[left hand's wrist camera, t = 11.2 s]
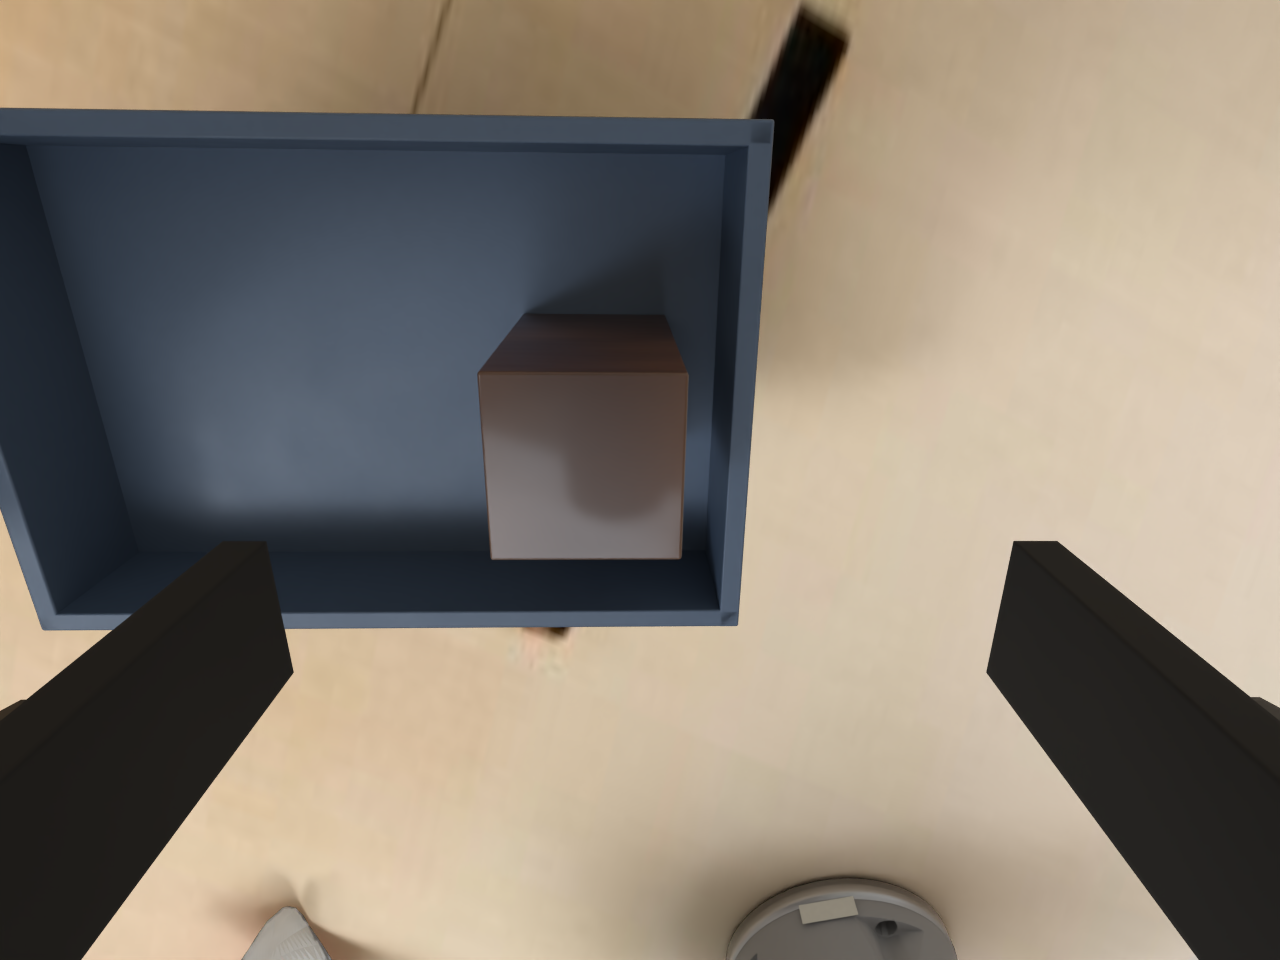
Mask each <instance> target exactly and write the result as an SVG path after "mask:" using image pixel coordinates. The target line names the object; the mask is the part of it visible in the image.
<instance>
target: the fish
mask: <svg viewBox="0 0 1280 960" xmlns="http://www.w3.org/2000/svg"><path fill="white" fill-rule="evenodd" d="M242 960H332V959H331V958H330V956H329V954H328V953H327V951H326V950H325V948H324V946H323V945H322V943H321V942H320V940H319V939H318V938H317V936H316V935H315V933H314V932H313V930H312V929H311V927H310V926H309V924H308V923H307V921H306V919H305V918H304V916H303V915H302V914H301V913H300V912H299V911H298V910H297V909H296V908H294V907H290V906H289V907H283V908H282V909H281V910H280V911H278V912H277V913H276V914H275V915H274V916H273V917H271V918H270V919H269V920H268V921H267V922H266V924H265V925H264V926H263V928H262V929H261V931H260V932H259V933H258V935H257V937H256V938H255V940H254V941H253V943H252V945H251V946H250V948H249V949H248V951H247V952H246V954H245V955H244V957H243V958H242Z"/></svg>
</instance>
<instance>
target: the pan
mask: <svg viewBox="0 0 1280 960" xmlns="http://www.w3.org/2000/svg"><path fill="white" fill-rule="evenodd" d="M773 132H774V120H772V119H704V118H639V117H573V116H508V115H443V114H377V113H312V112H247V111H182V110H116V109H51V108H0V509H1V512H2V515H3V518H4V521H5V524H6V526H7V529H8V532H9V535H10V538H11V541H12V544H13V547H14V549H15V552H16V555H17V558H18V561H19V564H20V567H21V569H22V572H23V575H24V578H25V581H26V584H27V587H28V589H29V592H30V595H31V598H32V601H33V604H34V607H35V609H36V612H37V615H38V619H39V621H40V624H41V627H42V629H43V630H113V629H115V628H116V627H117V626H118V625H120V624H121V623H122V622H123V621H125V620H126V619H127V618H128V617H129V616H131V615H132V614H133V613H134V612H136V611H137V610H138V609H139V608H141V607H142V606H143V605H144V604H146V603H147V602H148V601H149V600H151V599H152V598H153V597H154V596H155V595H157V594H158V593H159V592H160V591H162V590H163V589H164V588H165V587H167V586H168V585H169V584H170V583H172V582H173V581H174V580H175V579H177V578H178V577H179V576H180V575H181V574H183V573H184V572H185V571H186V570H188V569H189V568H190V567H191V566H193V565H194V564H195V563H196V562H198V561H199V560H200V559H201V558H203V557H204V556H205V555H206V554H207V553H209V552H210V551H211V550H212V549H214V548H215V547H216V546H217V545H219V544H220V543H221V542H222V541H266V542H267V547H268V551H269V556H270V561H271V566H272V571H273V575H274V580H275V585H276V590H277V595H278V600H279V604H280V609H281V614H282V619H283V624H284V628H285V629H325V628H476V627H627V626H737V625H738V617H739V603H740V589H741V575H742V561H743V547H744V534H745V520H746V506H747V492H748V478H749V464H750V451H751V437H752V423H753V409H754V395H755V381H756V368H757V354H758V340H759V326H760V312H761V298H762V285H763V271H764V257H765V243H766V229H767V215H768V202H769V188H770V174H771V160H772V146H773ZM523 314H631V315H665V316H666V319H667V321H668V324H669V327H670V329H671V332H672V334H673V337H674V339H675V342H676V344H677V347H678V350H679V352H680V355H681V357H682V360H683V362H684V365H685V368H686V370H687V373H688V375H689V378H688V404H687V430H686V456H685V482H684V508H683V534H682V557H681V559H599V560H492V559H491V557H490V544H489V530H488V517H487V503H486V489H485V475H484V461H483V448H482V434H481V420H480V406H479V392H478V379H477V373H478V371H479V370H480V369H481V368H482V366H483V365H484V364H485V362H486V361H487V360H488V359H489V357H490V356H491V355H492V354H493V352H494V351H495V350H496V348H497V347H498V346H499V345H500V343H501V342H502V341H503V339H504V338H505V337H506V336H507V334H508V333H509V332H510V331H511V329H512V328H513V327H514V325H515V324H516V323H517V322H518V320H519V319H520V318H521V317H522V315H523Z"/></svg>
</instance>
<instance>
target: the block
mask: <svg viewBox="0 0 1280 960" xmlns="http://www.w3.org/2000/svg"><path fill="white" fill-rule="evenodd" d="M688 378H689V375H688V373H687V370H686V368H685V365H684V362H683V360H682V357H681V355H680V352H679V350H678V347H677V344H676V342H675V339H674V337H673V334H672V332H671V329H670V327H669V324H668V321H667V319H666V316H665V315H631V314H523V315H522V317H521V318H520V319H519V320H518V322H517V323H516V324H515V325H514V327H513V328H512V329H511V331H510V332H509V333H508V334H507V336H506V337H505V338H504V339H503V341H502V342H501V343H500V345H499V346H498V347H497V348H496V350H495V351H494V352H493V354H492V355H491V356H490V357H489V359H488V360H487V361H486V362H485V364H484V365H483V366H482V368H481V369H480V370H479V371H478V373H477V379H478V392H479V406H480V420H481V434H482V448H483V461H484V475H485V489H486V503H487V517H488V530H489V544H490V557H491V559H492V560H599V559H681V557H682V534H683V508H684V482H685V456H686V430H687V404H688Z"/></svg>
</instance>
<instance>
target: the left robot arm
mask: <svg viewBox="0 0 1280 960" xmlns="http://www.w3.org/2000/svg"><path fill="white" fill-rule="evenodd" d="M293 673H294V672H293V667H292V662H291V657H290V653H289V648H288V643H287V638H286V633H285V628H284V624H283V619H282V614H281V609H280V604H279V600H278V595H277V590H276V585H275V580H274V575H273V571H272V566H271V561H270V556H269V551H268V547H267V542H266V541H222V542H221V543H220V544H219V545H217V546H216V547H215V548H214V549H212V550H211V551H210V552H209V553H207V554H206V555H205V556H204V557H203V558H201V559H200V560H199V561H198V562H196V563H195V564H194V565H193V566H191V567H190V568H189V569H188V570H186V571H185V572H184V573H183V574H181V575H180V576H179V577H178V578H177V579H175V580H174V581H173V582H172V583H170V584H169V585H168V586H167V587H165V588H164V589H163V590H162V591H160V592H159V593H158V594H157V595H155V596H154V597H153V598H152V599H151V600H149V601H148V602H147V603H146V604H144V605H143V606H142V607H141V608H139V609H138V610H137V611H136V612H134V613H133V614H132V615H131V616H129V617H128V618H127V619H126V620H125V621H123V622H122V623H121V624H120V625H118V626H117V627H116V628H115V629H113V630H112V631H111V632H110V633H108V634H107V635H106V636H105V637H103V638H102V639H101V640H100V641H99V642H97V643H96V644H95V645H94V646H92V647H91V648H90V649H89V650H87V651H86V652H85V653H84V654H82V655H81V656H80V657H79V658H77V659H76V660H75V661H74V662H73V663H71V664H70V665H69V666H68V667H66V668H65V669H64V670H63V671H61V672H60V673H59V674H58V675H56V676H55V677H54V678H53V679H51V680H50V681H49V682H48V683H47V684H45V685H44V686H43V687H42V688H40V689H39V690H38V691H37V692H35V693H34V694H33V695H32V696H30V697H29V698H28V699H27V700H20V701H18V702H16V703H14V704H12V705H11V706H9V707H7V708H5V709H3V710H1V711H0V960H81V959H82V958H83V957H84V955H85V954H86V953H87V951H88V950H89V949H90V947H91V946H92V944H93V943H94V942H95V940H96V939H97V938H98V936H99V935H100V934H101V932H102V931H103V930H104V928H105V927H106V926H107V924H108V923H109V921H110V920H111V919H112V917H113V916H114V915H115V913H116V912H117V911H118V909H119V908H120V907H121V905H122V904H123V903H124V901H125V900H126V898H127V897H128V896H129V894H130V893H131V892H132V890H133V889H134V888H135V886H136V885H137V884H138V882H139V881H140V880H141V878H142V877H143V875H144V874H145V873H146V871H147V870H148V869H149V867H150V866H151V865H152V863H153V862H154V861H155V859H156V858H157V857H158V855H159V854H160V852H161V851H162V850H163V848H164V847H165V846H166V844H167V843H168V842H169V840H170V839H171V838H172V836H173V835H174V834H175V832H176V831H177V830H178V828H179V827H180V825H181V824H182V823H183V821H184V820H185V819H186V817H187V816H188V815H189V813H190V812H191V811H192V809H193V808H194V807H195V805H196V804H197V802H198V801H199V800H200V798H201V797H202V796H203V794H204V793H205V792H206V790H207V789H208V788H209V786H210V785H211V784H212V782H213V781H214V779H215V778H216V777H217V775H218V774H219V773H220V771H221V770H222V769H223V767H224V766H225V765H226V763H227V762H228V761H229V759H230V758H231V756H232V755H233V754H234V752H235V751H236V750H237V748H238V747H239V746H240V744H241V743H242V742H243V740H244V739H245V738H246V736H247V735H248V733H249V732H250V731H251V729H252V728H253V727H254V725H255V724H256V723H257V721H258V720H259V719H260V717H261V716H262V715H263V713H264V712H265V711H266V709H267V708H268V706H269V705H270V704H271V702H272V701H273V700H274V698H275V697H276V696H277V694H278V693H279V692H280V690H281V689H282V688H283V686H284V685H285V683H286V682H287V681H288V679H289V678H290V677H291V675H292V674H293ZM986 673H987V674H988V675H989V677H990V678H991V679H992V681H993V682H994V683H995V685H996V686H997V688H998V689H999V690H1000V692H1001V693H1002V694H1003V696H1004V697H1005V698H1006V700H1007V701H1008V702H1009V704H1010V705H1011V706H1012V708H1013V709H1014V711H1015V712H1016V713H1017V715H1018V716H1019V717H1020V719H1021V720H1022V721H1023V723H1024V724H1025V725H1026V727H1027V728H1028V729H1029V731H1030V732H1031V733H1032V735H1033V736H1034V738H1035V739H1036V740H1037V742H1038V743H1039V744H1040V746H1041V747H1042V748H1043V750H1044V751H1045V752H1046V754H1047V755H1048V756H1049V758H1050V759H1051V761H1052V762H1053V763H1054V765H1055V766H1056V767H1057V769H1058V770H1059V771H1060V773H1061V774H1062V775H1063V777H1064V778H1065V779H1066V781H1067V782H1068V784H1069V785H1070V786H1071V788H1072V789H1073V790H1074V792H1075V793H1076V794H1077V796H1078V797H1079V798H1080V800H1081V801H1082V802H1083V804H1084V805H1085V807H1086V808H1087V809H1088V811H1089V812H1090V813H1091V815H1092V816H1093V817H1094V819H1095V820H1096V821H1097V823H1098V824H1099V825H1100V827H1101V828H1102V830H1103V831H1104V832H1105V834H1106V835H1107V836H1108V838H1109V839H1110V840H1111V842H1112V843H1113V844H1114V846H1115V847H1116V848H1117V850H1118V851H1119V852H1120V854H1121V855H1122V857H1123V858H1124V859H1125V861H1126V862H1127V863H1128V865H1129V866H1130V867H1131V869H1132V870H1133V871H1134V873H1135V874H1136V875H1137V877H1138V878H1139V880H1140V881H1141V882H1142V884H1143V885H1144V886H1145V888H1146V889H1147V890H1148V892H1149V893H1150V894H1151V896H1152V897H1153V898H1154V900H1155V901H1156V903H1157V904H1158V905H1159V907H1160V908H1161V909H1162V911H1163V912H1164V913H1165V915H1166V916H1167V917H1168V919H1169V920H1170V921H1171V923H1172V924H1173V926H1174V927H1175V928H1176V930H1177V931H1178V932H1179V934H1180V935H1181V936H1182V938H1183V939H1184V940H1185V942H1186V943H1187V944H1188V946H1189V947H1190V949H1191V950H1192V951H1193V953H1194V954H1195V955H1196V957H1197V958H1198V959H1199V960H1280V708H1279V707H1277V706H1275V705H1273V704H1271V703H1270V702H1268V701H1266V700H1264V699H1262V698H1260V697H1250V696H1248V695H1247V694H1246V693H1245V692H1243V691H1242V690H1241V689H1240V688H1238V687H1237V686H1236V685H1235V684H1233V683H1232V682H1231V681H1230V680H1229V679H1227V678H1226V677H1225V676H1224V675H1222V674H1221V673H1220V672H1219V671H1217V670H1216V669H1215V668H1214V667H1212V666H1211V665H1210V664H1209V663H1207V662H1206V661H1205V660H1204V659H1203V658H1201V657H1200V656H1199V655H1198V654H1196V653H1195V652H1194V651H1193V650H1191V649H1190V648H1189V647H1188V646H1186V645H1185V644H1184V643H1183V642H1181V641H1180V640H1179V639H1178V638H1177V637H1175V636H1174V635H1173V634H1172V633H1170V632H1169V631H1168V630H1167V629H1165V628H1164V627H1163V626H1162V625H1160V624H1159V623H1158V622H1157V621H1155V620H1154V619H1153V618H1152V617H1151V616H1149V615H1148V614H1147V613H1146V612H1144V611H1143V610H1142V609H1141V608H1139V607H1138V606H1137V605H1136V604H1134V603H1133V602H1132V601H1131V600H1129V599H1128V598H1127V597H1126V596H1125V595H1123V594H1122V593H1121V592H1120V591H1118V590H1117V589H1116V588H1115V587H1113V586H1112V585H1111V584H1110V583H1108V582H1107V581H1106V580H1105V579H1103V578H1102V577H1101V576H1100V575H1099V574H1097V573H1096V572H1095V571H1094V570H1092V569H1091V568H1090V567H1089V566H1087V565H1086V564H1085V563H1084V562H1082V561H1081V560H1080V559H1079V558H1077V557H1076V556H1075V555H1074V554H1073V553H1071V552H1070V551H1069V550H1068V549H1066V548H1065V547H1064V546H1063V545H1061V544H1060V543H1059V542H1058V541H1014V542H1013V547H1012V551H1011V556H1010V561H1009V566H1008V571H1007V575H1006V580H1005V585H1004V590H1003V595H1002V600H1001V604H1000V609H999V614H998V619H997V624H996V628H995V633H994V638H993V643H992V648H991V653H990V657H989V662H988V667H987V672H986ZM726 960H957V955H956V952H955V949H954V946H953V944H952V942H951V939H950V937H949V934H948V932H947V930H946V927H945V925H944V923H943V921H942V919H941V918H940V916H939V915H938V914H937V912H936V911H935V910H934V909H933V908H932V907H931V906H930V905H929V904H928V903H927V902H925V901H924V900H923V899H921V898H920V897H918V896H917V895H915V894H913V893H911V892H910V891H907V890H905V889H903V888H901V887H898V886H895V885H892V884H888V883H884V882H880V881H875V880H868V879H855V878H843V879H830V880H822V881H817V882H812V883H808V884H804V885H801V886H798V887H795V888H792V889H789V890H787V891H785V892H782V893H780V894H778V895H776V896H774V897H772V898H771V899H769V900H767V901H766V902H764V903H763V904H761V905H760V906H759V907H757V908H756V909H755V910H753V911H752V912H751V913H750V914H749V915H748V916H747V917H746V918H745V919H744V920H743V921H742V923H741V924H740V925H739V927H738V928H737V929H736V931H735V933H734V935H733V936H732V938H731V941H730V943H729V946H728V950H727V956H726Z"/></svg>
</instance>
